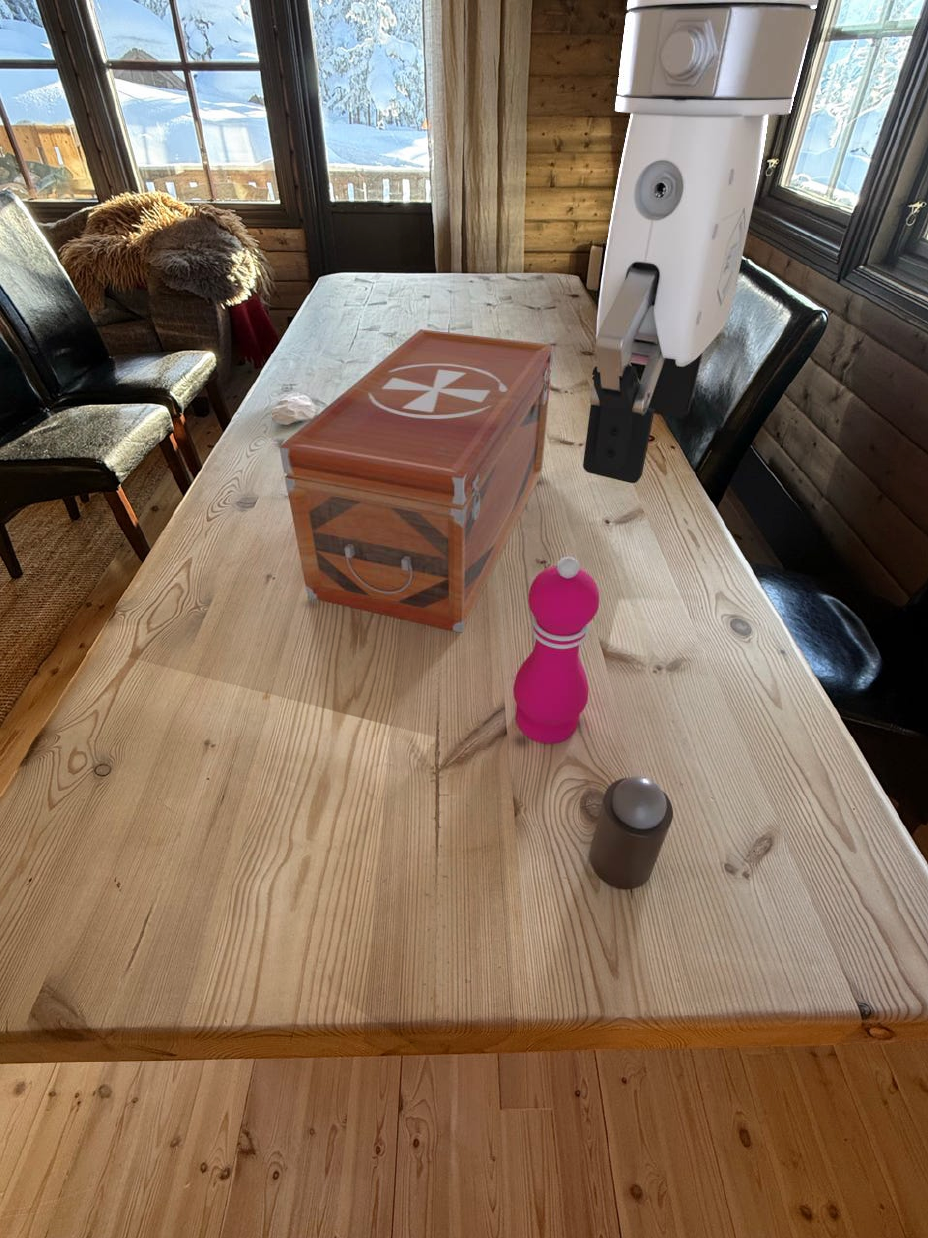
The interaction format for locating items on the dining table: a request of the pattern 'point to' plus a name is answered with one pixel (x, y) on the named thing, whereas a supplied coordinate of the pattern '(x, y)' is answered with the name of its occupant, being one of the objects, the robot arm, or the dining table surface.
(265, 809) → the dining table surface
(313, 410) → the stone
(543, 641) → the pepper mill
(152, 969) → the dining table surface
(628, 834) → the salt shaker
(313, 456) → the wooden box
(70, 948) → the dining table surface
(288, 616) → the dining table surface
